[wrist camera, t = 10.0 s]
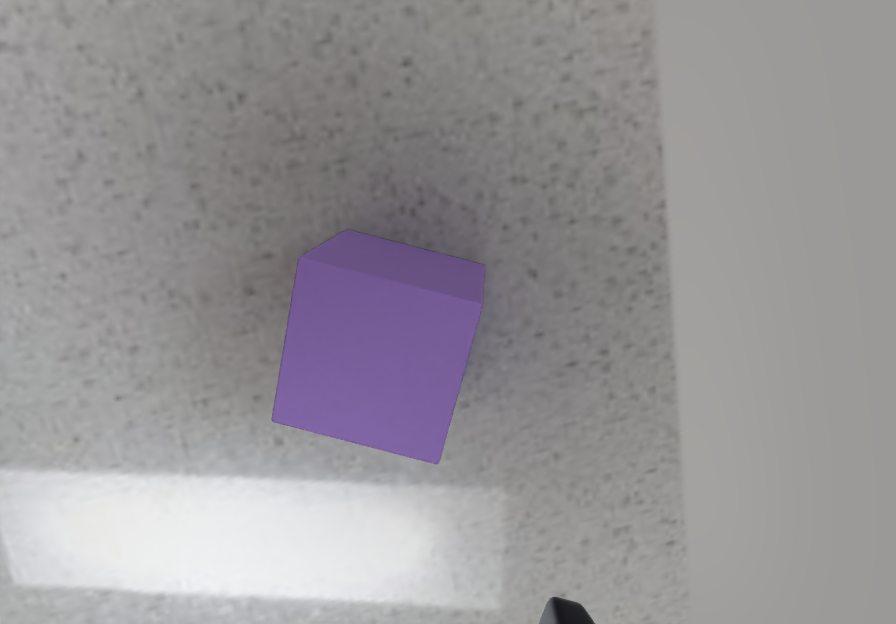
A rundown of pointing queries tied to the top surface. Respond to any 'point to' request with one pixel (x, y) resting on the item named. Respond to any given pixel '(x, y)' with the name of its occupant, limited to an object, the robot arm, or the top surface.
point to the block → (378, 343)
